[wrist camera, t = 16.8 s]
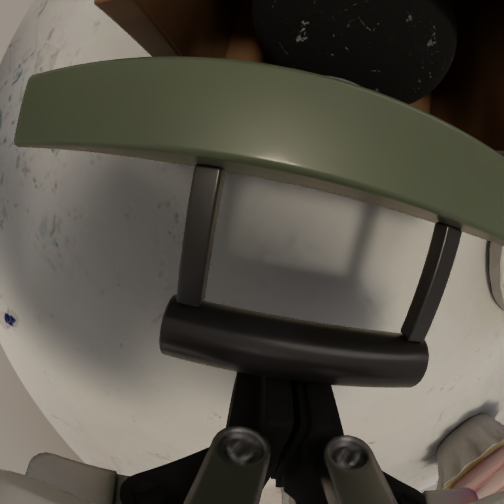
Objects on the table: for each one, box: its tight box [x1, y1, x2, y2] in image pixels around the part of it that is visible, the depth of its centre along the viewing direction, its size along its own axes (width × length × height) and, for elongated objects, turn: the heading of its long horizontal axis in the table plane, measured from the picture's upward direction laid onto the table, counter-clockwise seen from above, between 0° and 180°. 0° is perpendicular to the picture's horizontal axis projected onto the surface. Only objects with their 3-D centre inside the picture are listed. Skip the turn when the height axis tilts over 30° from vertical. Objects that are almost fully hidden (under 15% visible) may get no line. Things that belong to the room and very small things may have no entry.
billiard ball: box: [252, 0, 457, 104], centre depth 5 cm, size 6×6×6 cm
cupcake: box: [436, 414, 504, 499], centre depth 11 cm, size 9×9×10 cm
